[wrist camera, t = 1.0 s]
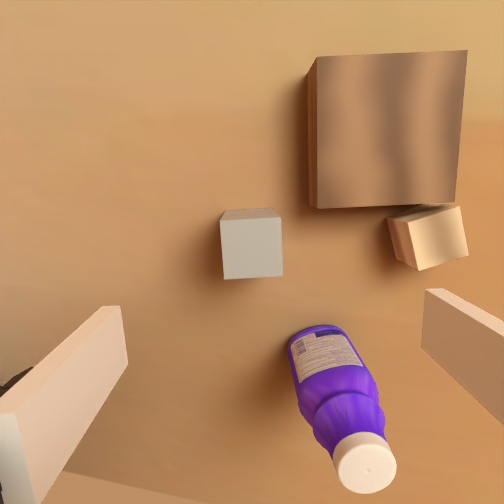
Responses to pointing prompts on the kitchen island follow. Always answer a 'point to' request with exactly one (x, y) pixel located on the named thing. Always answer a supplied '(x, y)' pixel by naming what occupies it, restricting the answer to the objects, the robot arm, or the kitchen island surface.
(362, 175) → the walnut block
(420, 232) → the maple cube
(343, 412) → the bottle
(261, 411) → the kitchen island surface
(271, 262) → the pale gray block
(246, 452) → the kitchen island surface
